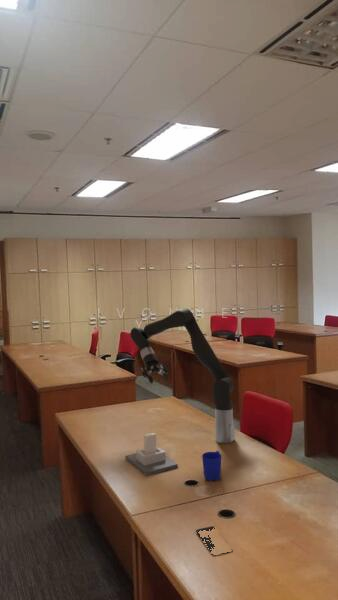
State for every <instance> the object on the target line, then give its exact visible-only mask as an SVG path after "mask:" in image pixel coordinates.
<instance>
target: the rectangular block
mask: <svg viewBox="0 0 338 600" xmlns="http://www.w3.org/2000/svg"><path fill="white" fill-rule="evenodd" d="M143 444H144V445H143V446H144V448H143V449H144V452H145V455H149V454H153V453H157V452H156V446H157V434H156V433H155V432H151V433H145V434H144V435H143Z"/></svg>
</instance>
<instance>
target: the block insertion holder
mask: <svg viewBox="0 0 338 600" xmlns="http://www.w3.org/2000/svg"><path fill="white" fill-rule="evenodd" d="M156 452H157V453H153V454H149V455H145V452H144V448H143V449H140V450H139V449H138V450H136V451H135V453H131V454H126V455H125V460H126V461H128V462H129V463H130V464H132V465H133V466H134V467H135V468H136V469H137V470H139V471H140V472H141V473H142V474H144V475H145V476H151V475H154V474H157V473H161V472H165V471H170V470H173V469H176V468H178V467H179V466H178V465H179V464H178V463H177V462H175V461H174V460H172V459H171V458H170V457H168V456H167V455H166V451H165V450H163V449H162V448H160V447H159V446H157V445H156Z"/></svg>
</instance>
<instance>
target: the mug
mask: <svg viewBox="0 0 338 600" xmlns="http://www.w3.org/2000/svg"><path fill="white" fill-rule="evenodd" d="M201 458H202V466H203V467H202V469H203V476H204V479H205V480H207V481H210V482H214V481H218V480H220V479H221V472H222V454H221V453H220V451H219V450H216V451H206V452H204V453H202V455H201Z"/></svg>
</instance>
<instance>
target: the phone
mask: <svg viewBox="0 0 338 600" xmlns="http://www.w3.org/2000/svg"><path fill="white" fill-rule="evenodd" d="M214 527H215V526H213V525H212V526H208V527H202V528H198V529H196V531H195V533H196V532H197V534H198V535H199V536H198V535H197V534H196V535H197V536H198V538H199V537H200V534H199V533H198V532H199V531H200V530H201V531H203V530H206V531H209V529H210V531H211V530H212V529H213V528H214ZM214 529H215V528H214ZM208 537H209V535H208ZM200 538H201V539H202V541H204V539H205V542H206V543H204V544H207V545H206V546H208V547H207V548H209V550H210V549H212V548H213V547H215V546H214V544H212V543H211V542H212V541H211V540H210V539H211V538H210V537H209V538H206V537H204V538H202V537H200ZM200 538H199V539H200ZM206 540H209V541H210V542H209V541H206ZM202 541H201V542H202ZM210 543H211V544H210ZM204 544H203V545H204ZM206 546H205V547H206ZM211 547H212V548H211ZM207 548H206V549H207ZM213 549H214V548H213ZM211 551H212V550H210V552H211ZM210 552H209V553H210Z"/></svg>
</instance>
